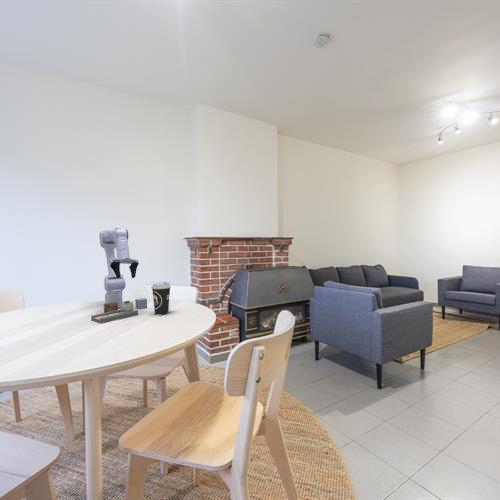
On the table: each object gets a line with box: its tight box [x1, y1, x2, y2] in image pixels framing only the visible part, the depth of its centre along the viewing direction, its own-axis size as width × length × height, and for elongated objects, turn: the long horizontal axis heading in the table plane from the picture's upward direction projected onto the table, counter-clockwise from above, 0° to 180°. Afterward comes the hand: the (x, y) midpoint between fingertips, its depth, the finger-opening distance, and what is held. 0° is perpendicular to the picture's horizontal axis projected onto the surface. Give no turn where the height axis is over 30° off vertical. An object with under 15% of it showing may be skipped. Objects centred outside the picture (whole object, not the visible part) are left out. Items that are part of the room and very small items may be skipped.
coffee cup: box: [150, 281, 172, 315], centre depth 143 cm, size 10×10×15 cm
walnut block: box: [103, 302, 119, 313], centre depth 144 cm, size 4×4×5 cm
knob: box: [120, 300, 134, 313], centre depth 140 cm, size 4×4×5 cm
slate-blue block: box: [135, 297, 148, 310], centre depth 154 cm, size 4×4×5 cm
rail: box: [90, 309, 139, 324], centre depth 135 cm, size 9×18×2 cm, turn 143°
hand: (126, 277), depth 137 cm, fingers open, 7 cm apart
